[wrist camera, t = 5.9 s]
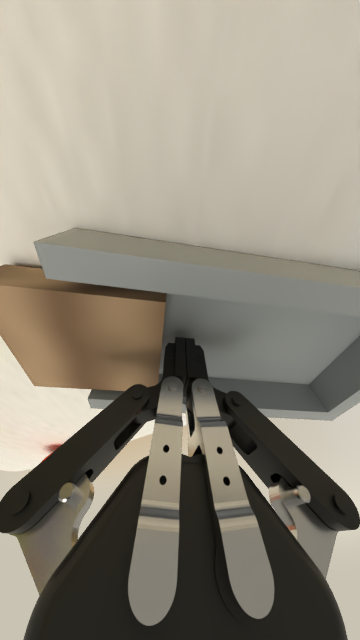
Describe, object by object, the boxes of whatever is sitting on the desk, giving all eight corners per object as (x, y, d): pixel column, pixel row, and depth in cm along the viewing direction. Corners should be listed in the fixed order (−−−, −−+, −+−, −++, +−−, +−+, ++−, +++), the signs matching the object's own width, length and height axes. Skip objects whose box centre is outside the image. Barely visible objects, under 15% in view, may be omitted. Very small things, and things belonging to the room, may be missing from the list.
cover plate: (167, 283, 11) (166, 302, 9) (159, 368, 17) (157, 392, 15) (5, 264, 10) (-36, 281, 8) (52, 361, 16) (34, 386, 14)
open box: (427, 281, 12) (503, 307, 9) (310, 389, 20) (331, 420, 18) (74, 228, 10) (33, 241, 7) (104, 374, 18) (90, 408, 15)
